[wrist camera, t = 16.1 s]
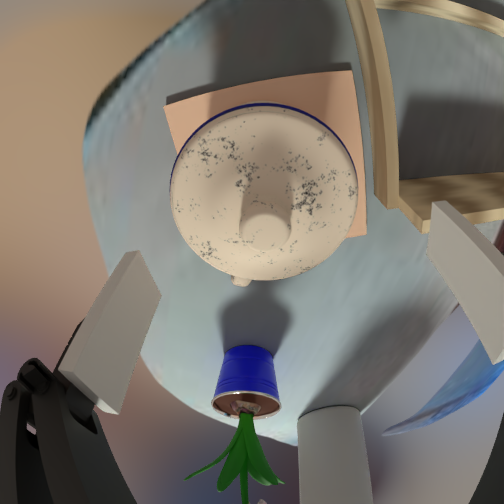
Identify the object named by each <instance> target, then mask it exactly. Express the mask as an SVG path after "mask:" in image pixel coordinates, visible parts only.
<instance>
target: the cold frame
mask: <svg viewBox="0 0 504 504" xmlns="http://www.w3.org/2000/svg"><path fill="white" fill-rule="evenodd" d="M345 2H346V5H347V9H348V12H349V16H350V20H351V24H352V28H353V32H354V36H355V40H356V45H357V49H358V54H359V59H360V64H361V69H362V75H363V81H364V87H365V93H366V100H367V108H368V116H369V124H370V134H371V145H372V158H373V175H374V195H375V196H376V197H377V198H378V199H379V200H380V201H381V203H382V204H383V205H384V206H385V207H386V208H387V209H394V208H399V209H400V210H401V211H402V212H403V213H404V214H405V215H406V217H407V218H408V219H409V220H410V221H411V222H412V223H413V225H414V226H415V227H416V228H417V229H418V230H419V232H420V233H421V234H424V233H429V230H430V221H431V211H432V202H436V201H444V200H446V201H447V202H448V203H449V204H450V205H452V206H453V207H454V208H455V209H456V210H457V211H458V212H460V213H461V214H462V215H463V216H464V217H465V218H466V219H467V220H468V221H469V222H470V223H472V224H473V225H474V224H480V223H485V222H491V221H496V220H501V219H504V172H496V173H478V174H463V175H450V176H439V177H428V178H418V179H408V180H399V158H398V138H397V124H396V113H395V104H394V95H393V88H392V81H391V74H390V68H389V62H388V57H387V52H386V47H385V42H384V38H383V33H382V29H381V25H380V21H379V17H378V13H377V10H376V8H381V9H392V10H400V11H407V12H414V13H420V14H426V15H431V16H436V17H440V18H445V19H449V20H453V21H457V22H460V23H464V24H467V25H471V26H474V27H477V28H480V29H483V30H486V31H489V32H492V33H494V34H497V35H500V36H502V37H504V20H501V19H499V18H497V17H494V16H492V15H490V14H487V13H484V12H482V11H479V10H476V9H474V8H471V7H468V6H465V5H462V4H459V3H455V2H452V1H448V0H345Z"/></svg>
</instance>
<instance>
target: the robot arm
mask: <svg viewBox="0 0 504 504" xmlns="http://www.w3.org/2000/svg"><path fill="white" fill-rule="evenodd" d="M426 255H427V256H428V258H429V259H430V260H431V262H432V263H433V265H434V266H435V268H436V269H437V270H438V272H439V273H440V275H441V276H442V278H443V279H444V281H445V282H446V284H447V285H448V287H449V288H450V290H451V291H452V293H453V294H454V296H455V297H456V299H457V301H458V302H459V304H460V305H461V307H462V308H463V310H464V312H465V314H466V315H467V317H468V319H469V320H470V322H471V324H472V326H473V327H474V329H475V331H476V333H477V335H478V336H479V338H480V340H481V342H482V344H483V346H484V348H485V350H486V352H487V354H488V356H489V358H490V360H491V362H492V364H493V365H494V364H496V363H498V362H500V361H502V360H504V253H502V252H501V253H500V252H499V251H498V249H497V248H496V247H495V246H494V245H493V244H492V243H491V242H490V241H489V240H488V239H487V238H486V237H485V236H484V235H483V234H482V233H481V232H480V231H479V230H478V229H477V228H476V227H475V226H474V225H473V224H472V223H470V222H469V221H468V220H467V219H466V218H465V217H464V216H463V215H462V214H461V213H460V212H458V211H457V210H456V209H455V208H454V207H453V206H452V205H450V204H449V203H448V202H447V201H446V200H444V201H436V202H432V211H431V221H430V230H429V238H428V245H427V252H426ZM161 296H162V295H161V293H160V291H159V290H158V288H157V286H156V284H155V282H154V280H153V278H152V276H151V274H150V272H149V270H148V268H147V266H146V264H145V262H144V259H143V257H142V255H141V253H140V251H139V250H137V251H132V252H127V253H125V255H124V256H123V258H122V259H121V261H120V262H119V264H118V265H117V267H116V268H115V270H114V271H113V273H112V274H111V276H110V277H109V279H108V281H107V282H106V284H105V285H104V287H103V289H102V290H101V292H100V293H99V295H98V297H97V299H96V300H95V302H94V303H93V305H92V307H91V309H90V310H89V312H88V314H87V316H86V317H85V318H84V319H83V321H82V322H80V324H79V325H78V326H77V328H76V329H75V331H74V333H73V335H72V337H71V338H70V340H69V342H68V345H67V346H66V348H65V350H64V352H63V353H62V356H61V357H60V359H59V361H58V363H57V365H56V367H55V369H54V371H53V373H52V372H51V371H50V370H49V369H48V368H47V367H46V366H45V365H44V364H43V363H42V362H41V361H40V360H39V359H37V358H32V359H29V360H28V361H27V362H25V363H24V364H23V366H22V367H21V368H20V370H19V373H18V376H17V380H16V381H12V382H11V383H9V384H8V385H7V386H6V389H5V390H4V394H3V398H2V403H1V411H0V504H137V503H136V501H135V499H134V497H133V495H132V493H131V491H130V490H129V488H128V486H127V484H126V482H125V480H124V478H123V476H122V474H121V472H120V469H119V468H118V465H117V463H116V461H115V459H114V456H113V454H112V452H111V449H110V447H109V445H108V442H107V439H106V437H105V434H104V432H103V429H102V426H101V424H100V421H99V418H98V415H97V414H96V412H95V411H94V410H93V408H94V405H96V406H98V407H99V408H100V409H101V410H102V411H104V412H108V413H113V414H120V410H121V407H122V404H123V401H124V398H125V395H126V391H127V388H128V385H129V382H130V379H131V376H132V373H133V371H134V368H135V364H136V362H137V359H138V356H139V354H140V351H141V348H142V345H143V343H144V340H145V337H146V334H147V332H148V329H149V327H150V324H151V321H152V319H153V316H154V314H155V311H156V308H157V306H158V303H159V301H160V298H161ZM27 423H28V424H29V425H31V426H32V427H33V428H35V429H36V435H34V434H32V433H31V432H30V431H28V430H27ZM469 504H504V413H503V417H502V421H501V424H500V428H499V431H498V434H497V438H496V440H495V443H494V446H493V449H492V452H491V455H490V458H489V460H488V463H487V465H486V468H485V470H484V473H483V475H482V477H481V479H480V482H479V484H478V486H477V488H476V490H475V492H474V494H473V496H472V498H471V500H470V502H469Z"/></svg>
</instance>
